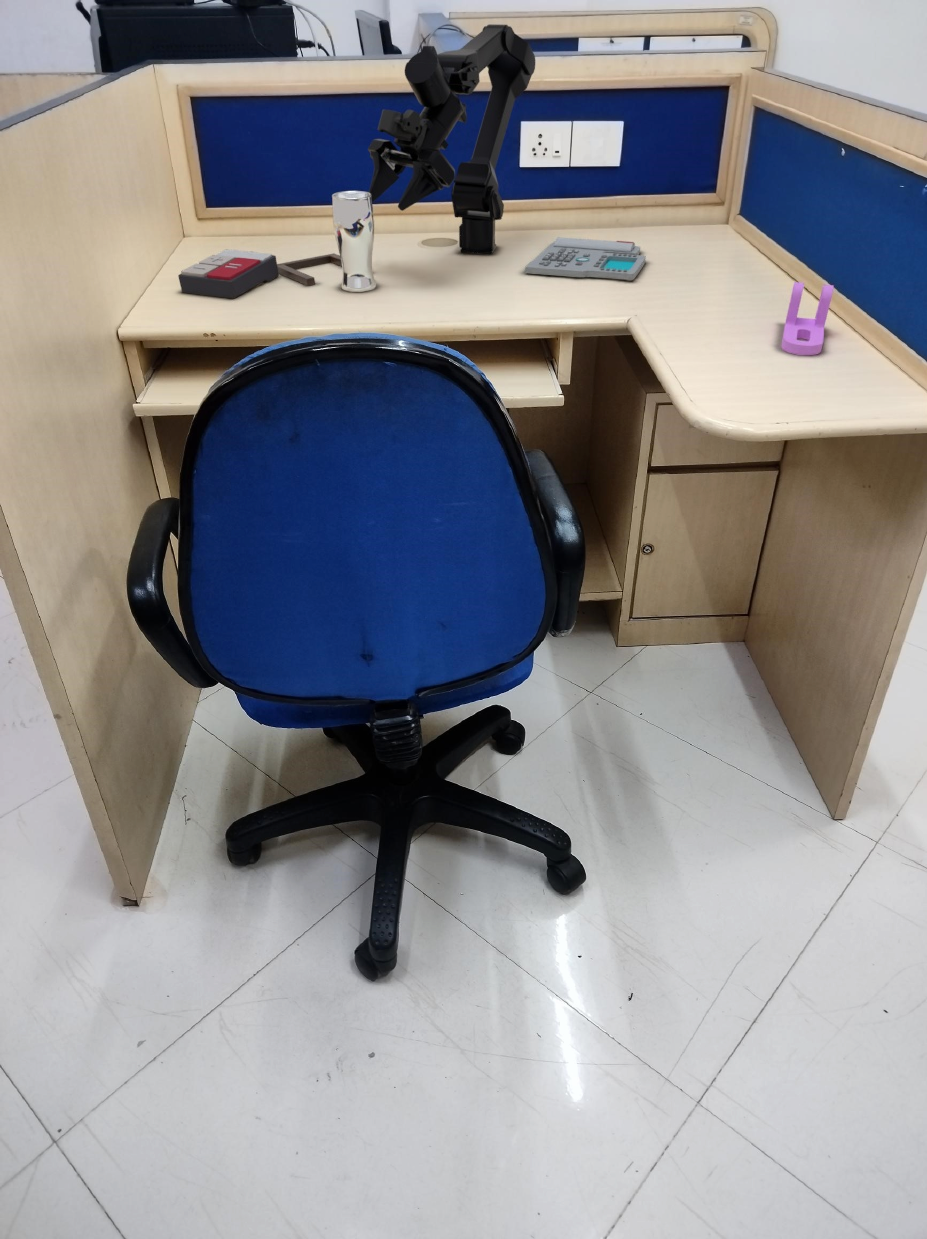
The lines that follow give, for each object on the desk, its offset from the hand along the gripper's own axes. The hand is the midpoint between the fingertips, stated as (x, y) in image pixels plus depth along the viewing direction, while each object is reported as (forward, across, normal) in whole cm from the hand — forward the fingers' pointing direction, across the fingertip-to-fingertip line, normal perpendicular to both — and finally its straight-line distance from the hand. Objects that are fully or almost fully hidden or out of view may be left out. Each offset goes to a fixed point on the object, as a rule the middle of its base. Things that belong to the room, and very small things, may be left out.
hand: (384, 204), depth 146 cm
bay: (+14, -13, +4) cm, 19 cm away
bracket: (-12, +66, +30) cm, 74 cm away
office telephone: (-17, +15, +35) cm, 42 cm away
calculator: (+26, -16, -7) cm, 31 cm away
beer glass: (+14, 0, +5) cm, 14 cm away
